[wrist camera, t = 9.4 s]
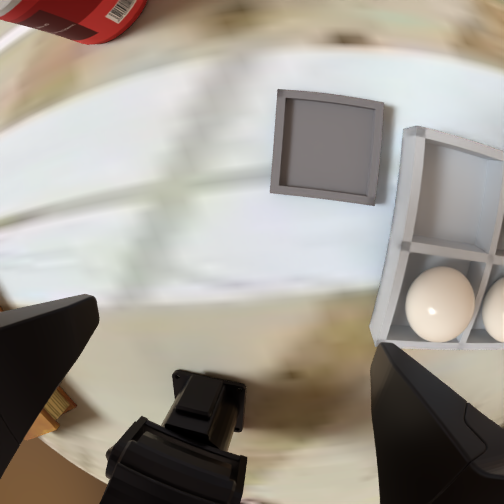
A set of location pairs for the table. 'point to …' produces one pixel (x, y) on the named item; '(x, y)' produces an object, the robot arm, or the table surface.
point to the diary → (50, 413)
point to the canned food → (75, 17)
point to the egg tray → (442, 232)
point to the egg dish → (326, 146)
